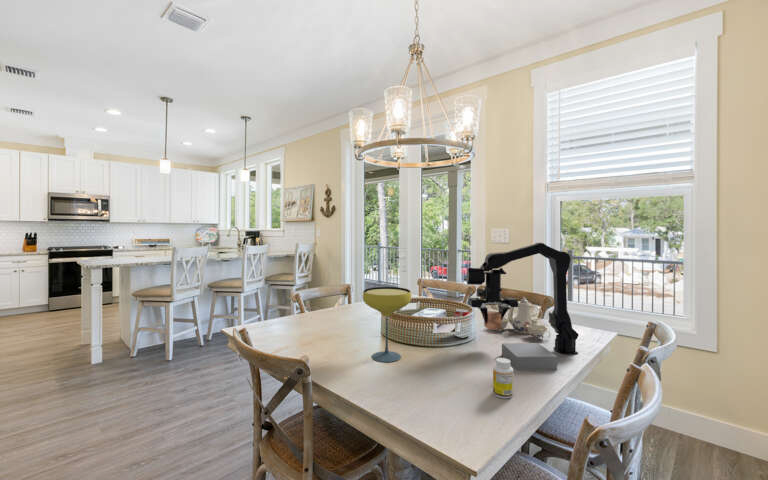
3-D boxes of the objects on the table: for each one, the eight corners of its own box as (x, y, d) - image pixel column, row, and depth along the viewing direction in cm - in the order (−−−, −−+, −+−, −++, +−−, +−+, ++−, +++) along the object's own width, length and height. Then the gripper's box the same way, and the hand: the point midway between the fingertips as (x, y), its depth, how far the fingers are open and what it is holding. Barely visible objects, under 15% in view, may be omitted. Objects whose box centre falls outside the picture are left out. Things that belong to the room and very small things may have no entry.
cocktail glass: (362, 367, 121) (362, 295, 120) (362, 349, 139) (362, 286, 138) (414, 366, 122) (414, 295, 121) (407, 348, 140) (407, 286, 139)
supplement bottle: (497, 388, 105) (497, 355, 105) (515, 394, 101) (516, 359, 101) (489, 395, 101) (490, 360, 100) (508, 401, 97) (509, 365, 97)
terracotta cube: (496, 325, 142) (496, 311, 142) (500, 329, 137) (501, 314, 137) (484, 325, 142) (484, 311, 141) (488, 329, 137) (488, 314, 136)
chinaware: (485, 333, 166) (484, 299, 164) (499, 322, 178) (498, 291, 176) (547, 346, 147) (547, 309, 145) (558, 334, 160) (558, 299, 158)
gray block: (537, 355, 133) (537, 343, 133) (557, 370, 119) (557, 356, 119) (501, 356, 133) (501, 343, 133) (516, 371, 119) (517, 356, 119)
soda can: (470, 339, 151) (470, 312, 150) (453, 338, 152) (453, 311, 152) (469, 334, 158) (469, 308, 157) (453, 333, 159) (453, 308, 159)
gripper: (507, 281, 147) (507, 318, 148) (464, 282, 146) (463, 318, 147) (519, 286, 136) (518, 325, 137) (472, 286, 135) (472, 326, 136)
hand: (492, 323), depth 139 cm, fingers closed on terracotta cube, 5 cm apart
